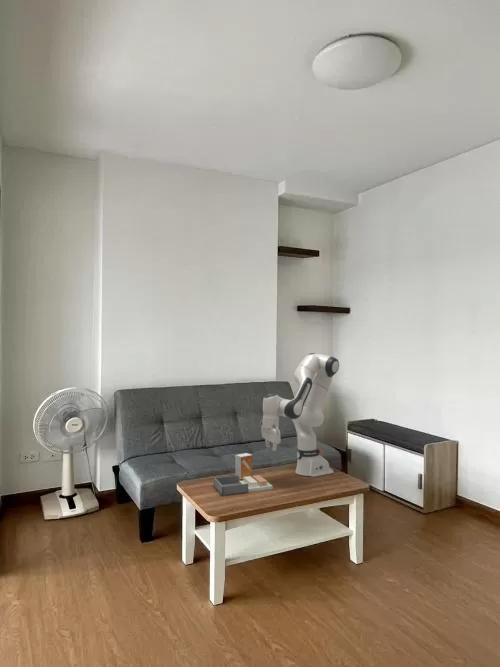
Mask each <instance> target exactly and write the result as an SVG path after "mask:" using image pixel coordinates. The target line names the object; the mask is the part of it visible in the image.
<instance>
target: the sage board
mask: <svg viewBox="0 0 500 667" xmlns="http://www.w3.org/2000/svg"><path fill="white" fill-rule="evenodd" d="M239 483H240V484H246V483H245V482H243V480H239ZM257 485H258V484H257ZM273 488H274V485H272V484H271V483H270V482H269V481H267V486H261V487H260V486H259V485H258V487H252V488H250V487H249V486H248V493H251V492H258V491H260V492H261V491H266V490H267V491H268V490H273Z"/></svg>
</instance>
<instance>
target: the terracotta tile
mask: <svg viewBox="0 0 500 667" xmlns="http://www.w3.org/2000/svg"><path fill="white" fill-rule="evenodd" d="M252 478H253V479H254V480H255V481H257V484H258V485H259V486H260V487H261V486H267V482H268V480H267V479H265V478H264V477H263V476H261V475H259V474H257V475H252Z"/></svg>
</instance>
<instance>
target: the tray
mask: <svg viewBox="0 0 500 667" xmlns="http://www.w3.org/2000/svg"><path fill="white" fill-rule="evenodd" d="M239 481H240V479H239V475H235V474H234V475H226V476H218V477H213V487H214V486H215V487H214V488H215V490H217V491H219V492H218V493H219V494H220V495H221V496H222V497H223V496H224V497H225V496H227V497H228V496H234V495H242V494H248V493H249V492H248V483H247V484H240V483H239Z"/></svg>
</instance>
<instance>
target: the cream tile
mask: <svg viewBox="0 0 500 667" xmlns="http://www.w3.org/2000/svg"><path fill="white" fill-rule="evenodd" d="M242 481H243V482H245V483H246V484H247V483H248V486H249V487H250V488H252V487H258V485H257V481H255V480H254V479H253V476H252V477H251V476H247V477H243V479H242Z"/></svg>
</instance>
